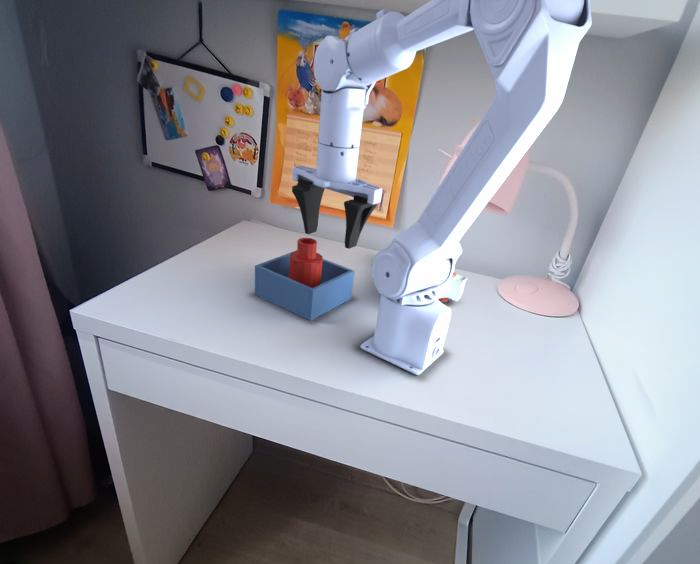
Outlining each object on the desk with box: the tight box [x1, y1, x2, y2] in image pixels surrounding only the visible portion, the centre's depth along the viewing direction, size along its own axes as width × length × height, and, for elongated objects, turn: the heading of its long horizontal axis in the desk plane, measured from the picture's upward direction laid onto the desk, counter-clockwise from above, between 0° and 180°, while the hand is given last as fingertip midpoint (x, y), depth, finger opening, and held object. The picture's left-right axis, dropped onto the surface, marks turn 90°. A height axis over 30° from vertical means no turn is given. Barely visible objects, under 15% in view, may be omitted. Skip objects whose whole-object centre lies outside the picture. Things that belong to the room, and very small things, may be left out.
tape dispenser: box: [436, 271, 468, 303], centre depth 84 cm, size 18×5×20 cm
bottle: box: [289, 237, 324, 288], centre depth 74 cm, size 5×5×9 cm
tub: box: [254, 249, 355, 322], centre depth 76 cm, size 12×11×5 cm
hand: (330, 239), depth 72 cm, fingers open, 7 cm apart
